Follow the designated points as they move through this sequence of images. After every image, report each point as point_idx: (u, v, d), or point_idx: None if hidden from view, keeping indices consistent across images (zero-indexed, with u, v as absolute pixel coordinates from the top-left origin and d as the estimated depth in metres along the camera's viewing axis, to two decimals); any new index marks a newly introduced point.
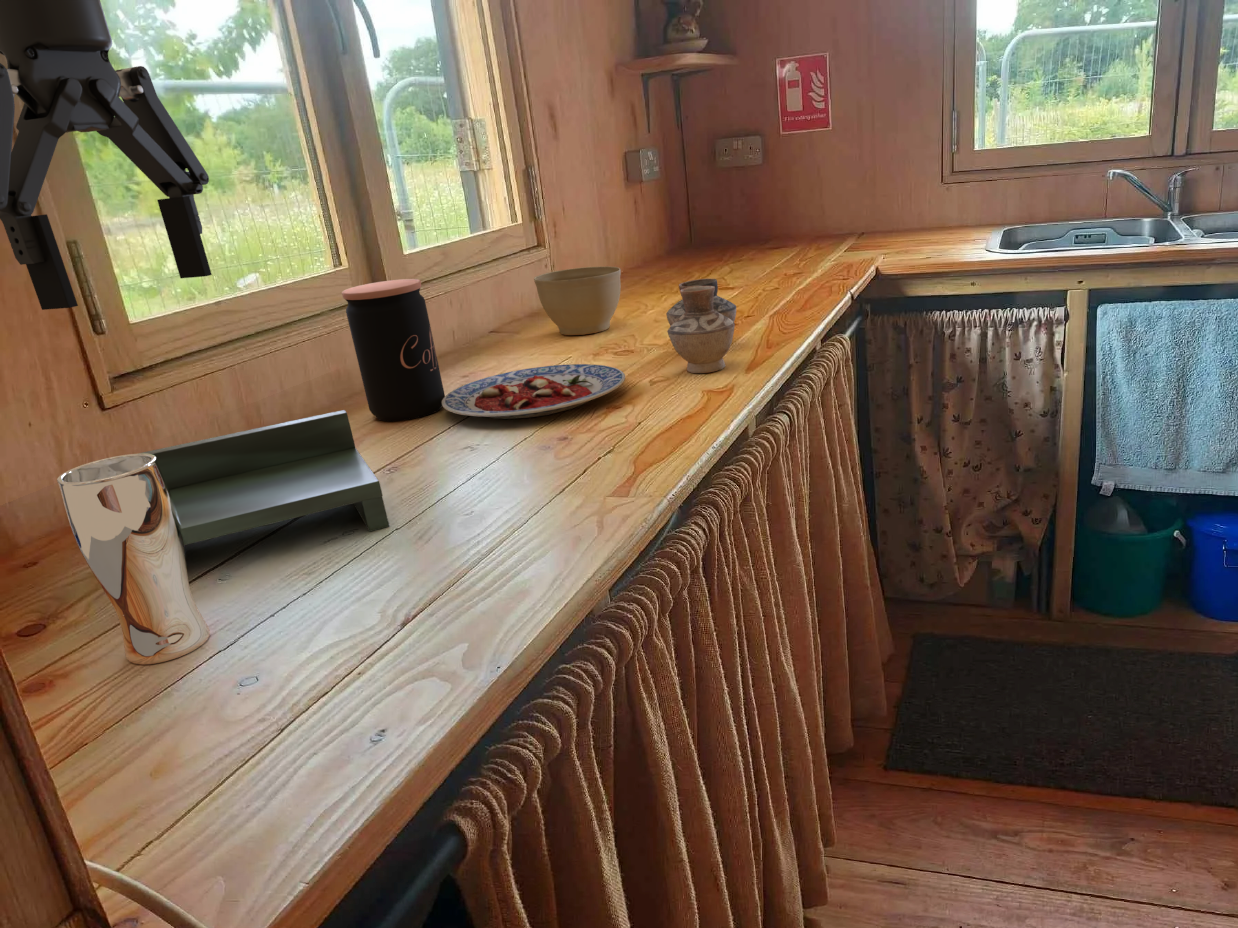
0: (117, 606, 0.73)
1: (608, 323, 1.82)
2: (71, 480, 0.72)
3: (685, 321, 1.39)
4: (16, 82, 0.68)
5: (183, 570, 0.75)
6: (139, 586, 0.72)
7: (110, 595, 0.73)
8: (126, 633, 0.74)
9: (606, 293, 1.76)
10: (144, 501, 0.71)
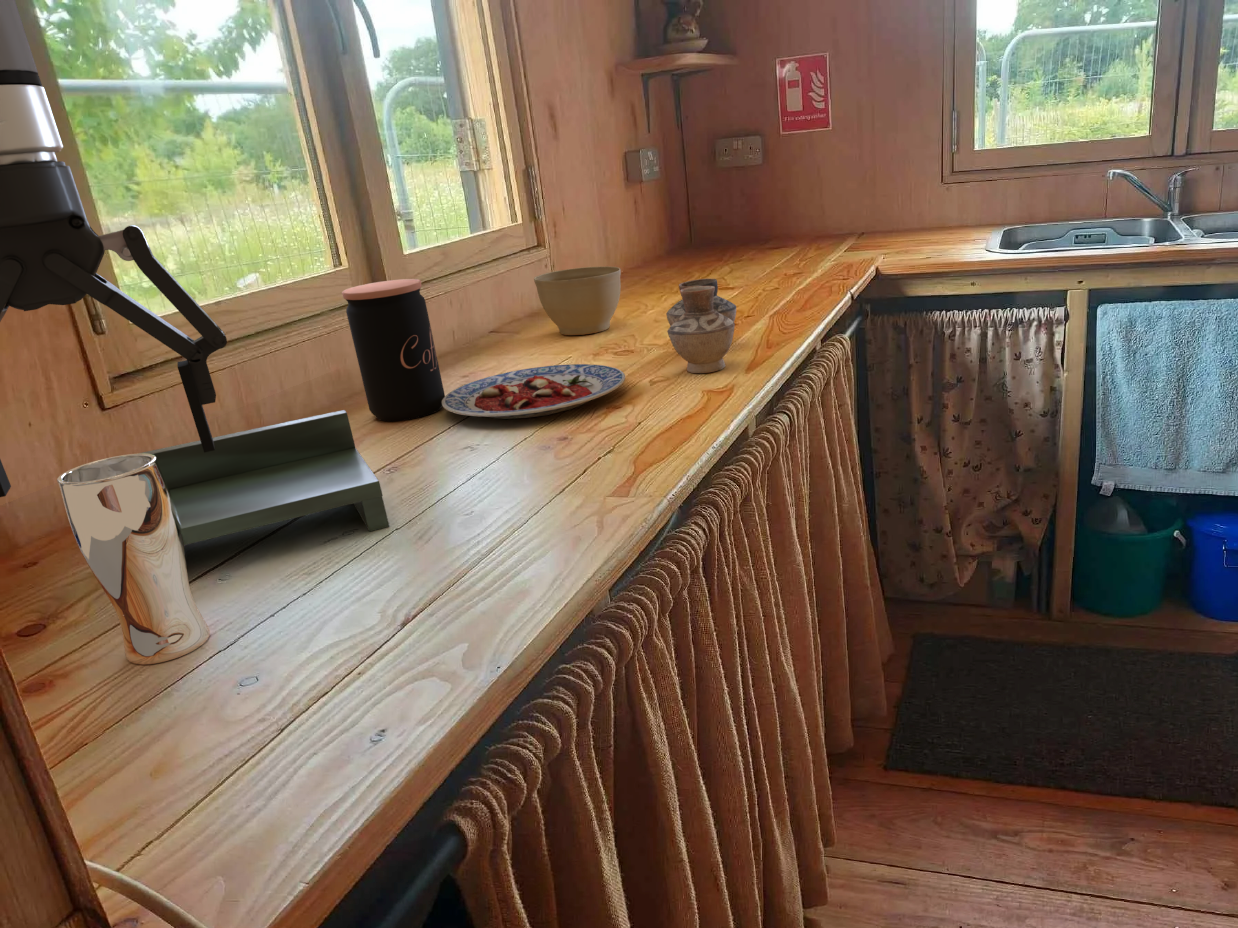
0: (117, 606, 0.73)
1: (608, 323, 1.82)
2: (71, 480, 0.72)
3: (685, 321, 1.39)
4: None
5: (183, 570, 0.75)
6: (139, 586, 0.72)
7: (110, 595, 0.73)
8: (126, 633, 0.74)
9: (606, 293, 1.76)
10: (144, 501, 0.71)
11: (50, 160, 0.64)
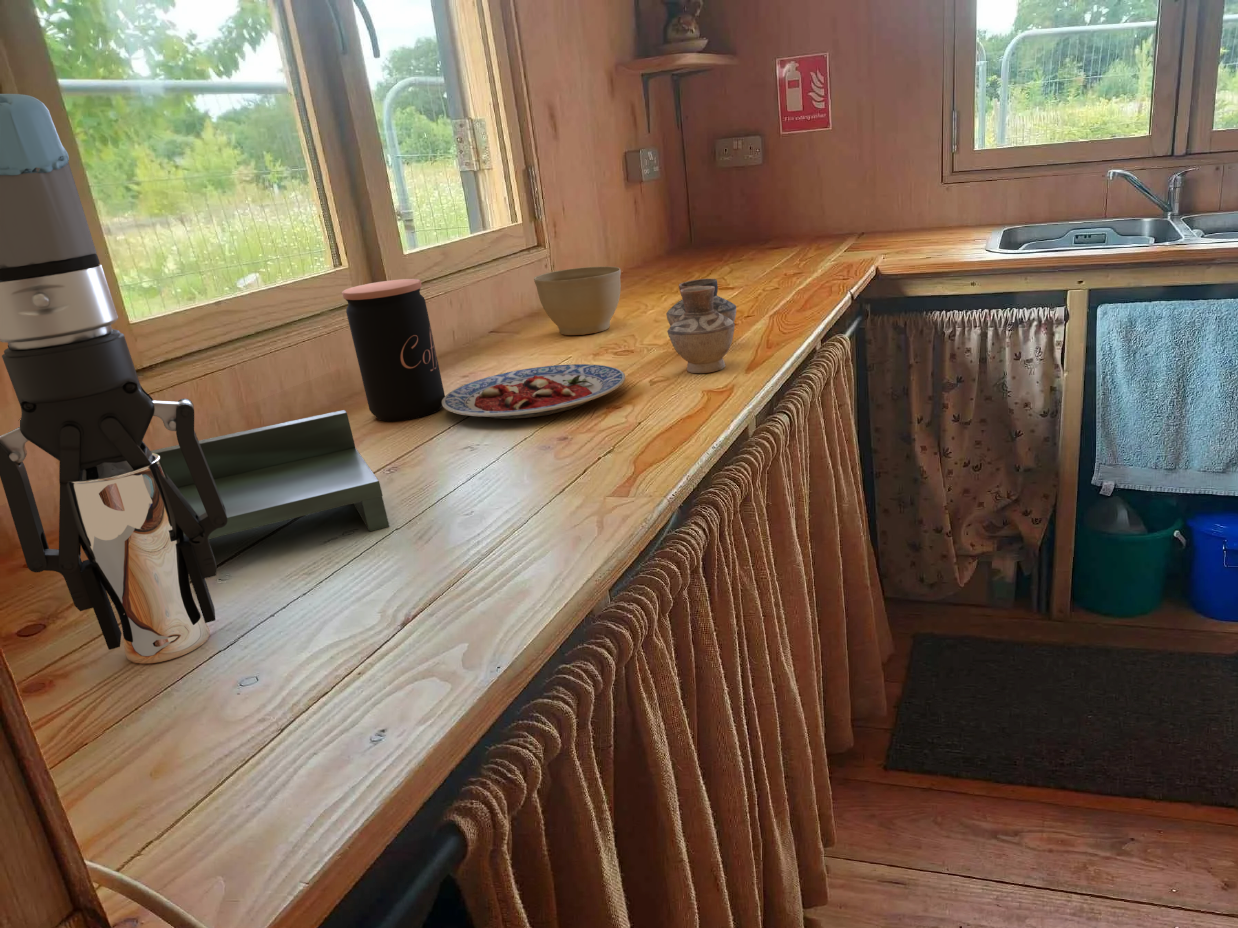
0: (118, 605, 0.73)
1: (608, 323, 1.82)
2: None
3: (685, 321, 1.39)
4: (22, 441, 0.68)
5: (185, 570, 0.75)
6: (140, 585, 0.72)
7: (111, 594, 0.73)
8: (126, 632, 0.74)
9: (606, 293, 1.76)
10: (147, 500, 0.71)
11: (107, 333, 0.68)
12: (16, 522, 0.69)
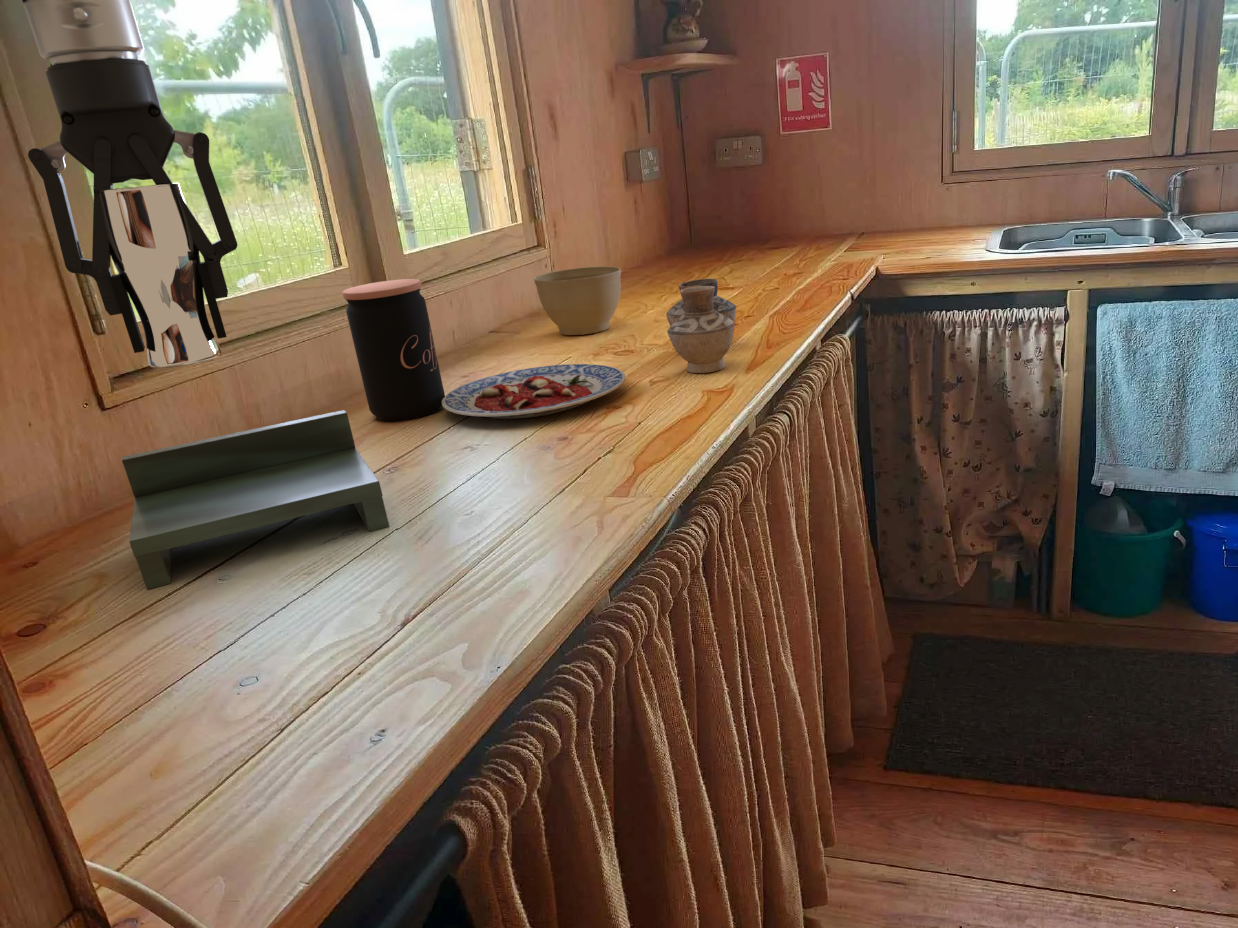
0: (142, 312, 0.84)
1: (608, 323, 1.82)
2: None
3: (685, 321, 1.39)
4: (61, 152, 0.79)
5: (200, 288, 0.86)
6: (162, 291, 0.83)
7: (137, 301, 0.84)
8: (149, 339, 0.85)
9: (606, 293, 1.76)
10: (168, 214, 0.82)
11: (135, 59, 0.79)
12: (56, 224, 0.80)
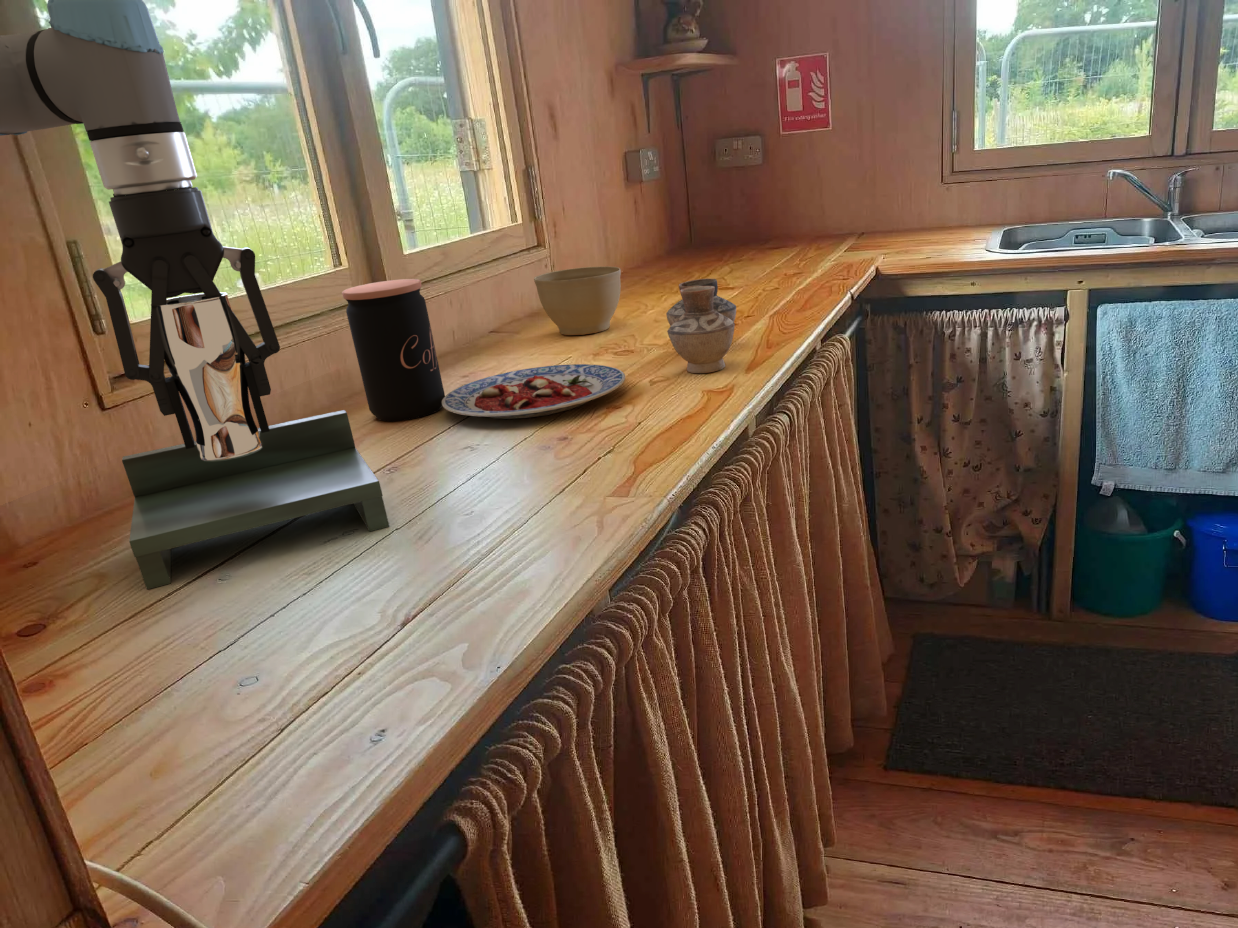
0: (194, 412, 0.91)
1: (608, 323, 1.82)
2: None
3: (685, 321, 1.39)
4: (122, 272, 0.86)
5: (246, 387, 0.93)
6: (212, 394, 0.90)
7: (189, 402, 0.91)
8: (200, 436, 0.93)
9: (606, 293, 1.76)
10: (219, 324, 0.89)
11: (189, 186, 0.86)
12: (117, 337, 0.87)
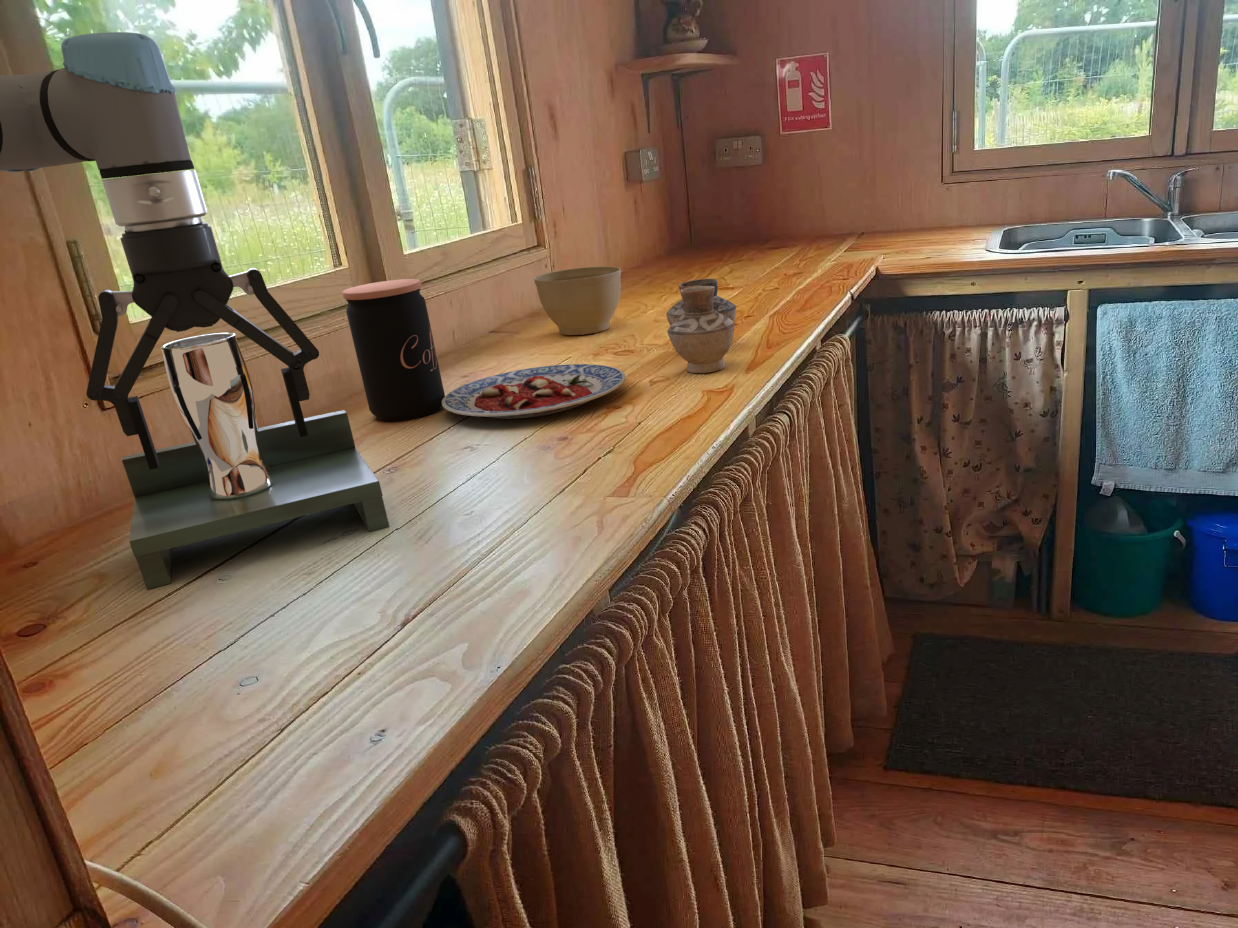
0: (204, 451, 0.93)
1: (608, 323, 1.82)
2: None
3: (685, 321, 1.39)
4: (128, 301, 0.87)
5: (255, 426, 0.95)
6: (222, 434, 0.92)
7: (199, 442, 0.92)
8: (211, 474, 0.94)
9: (606, 293, 1.76)
10: (227, 365, 0.91)
11: (199, 223, 0.87)
12: (95, 356, 0.87)
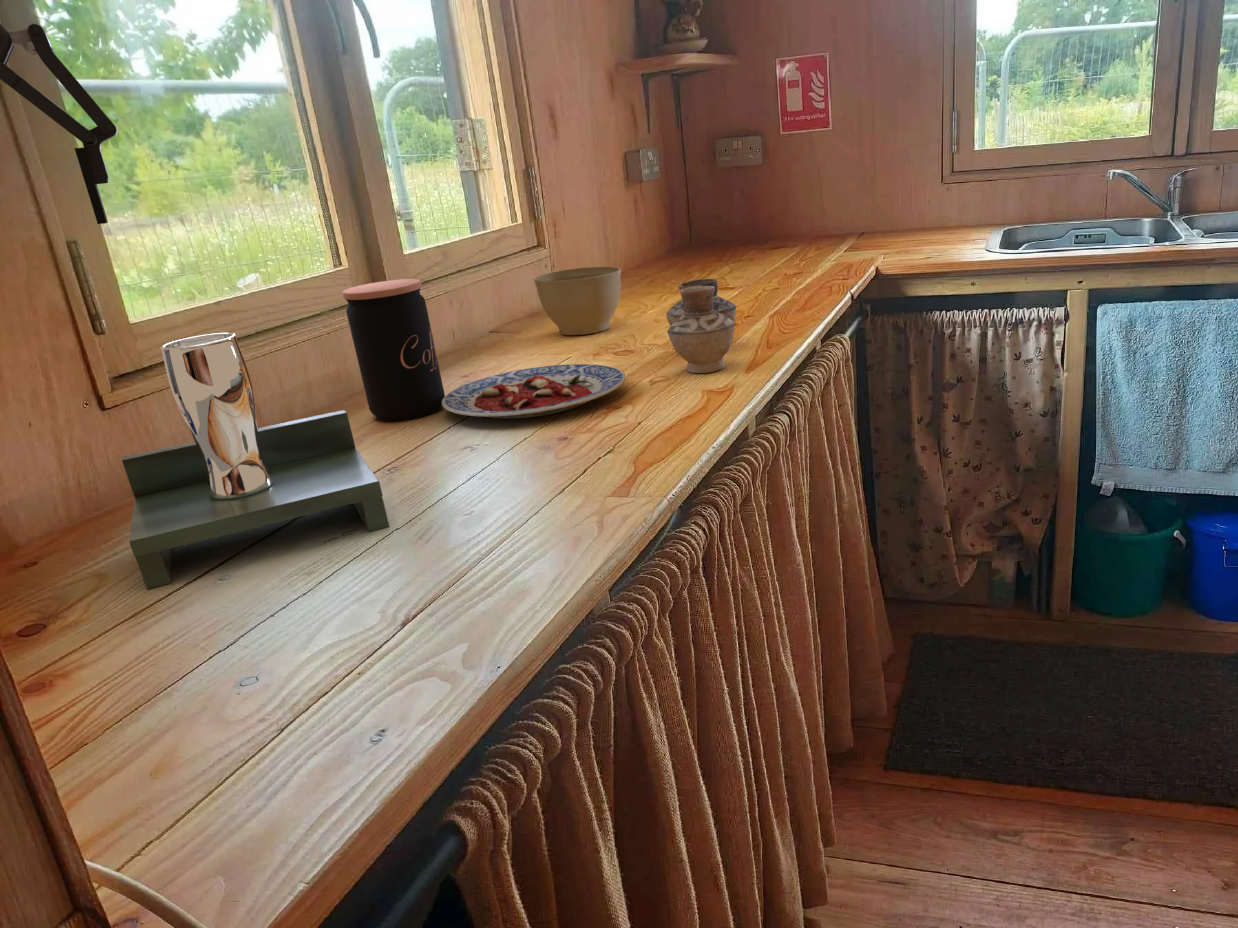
0: (204, 451, 0.93)
1: (608, 323, 1.82)
2: None
3: (685, 321, 1.39)
4: None
5: (255, 426, 0.95)
6: (222, 434, 0.92)
7: (199, 442, 0.92)
8: (211, 474, 0.94)
9: (606, 293, 1.76)
10: (227, 365, 0.91)
11: None
12: None
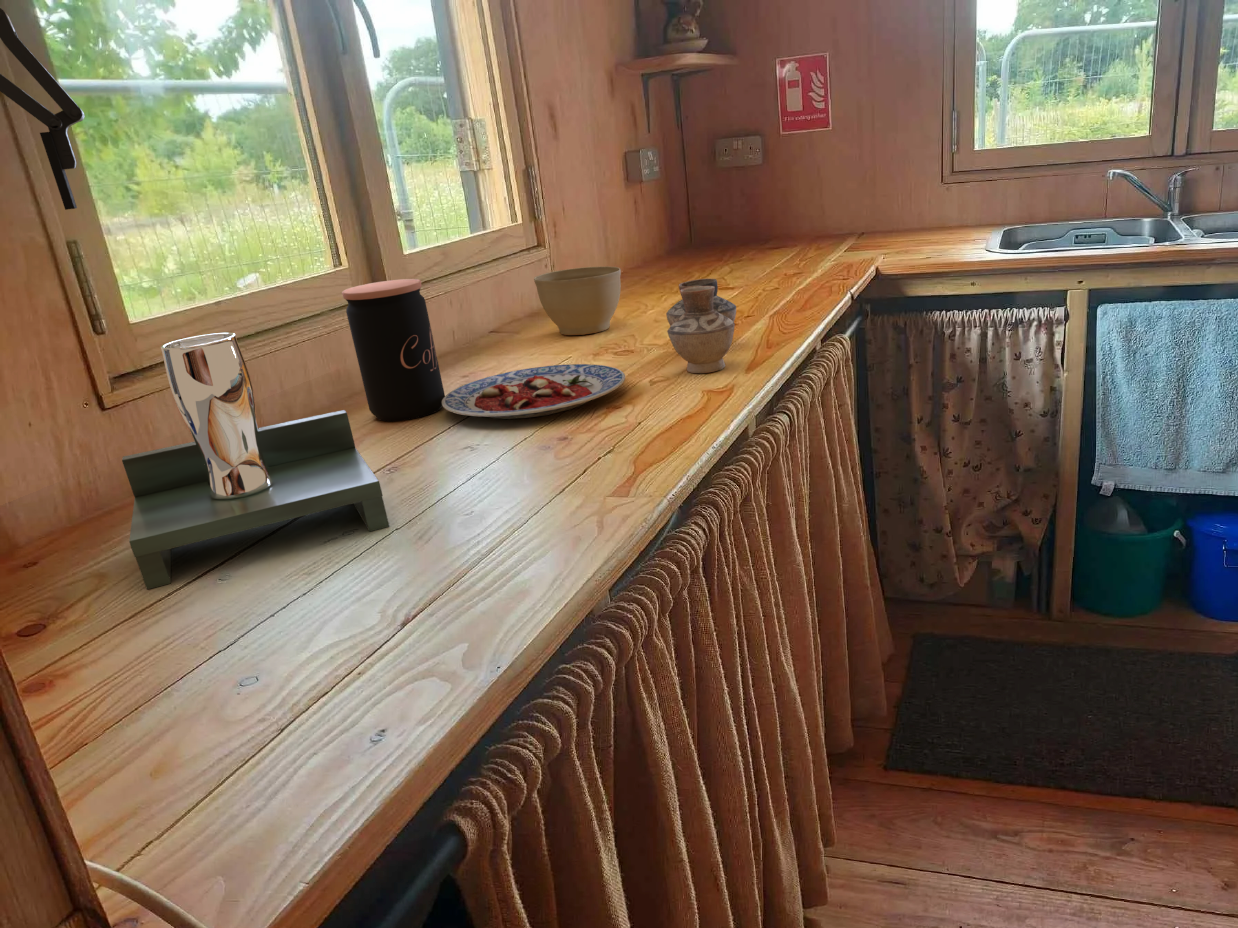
0: (204, 451, 0.93)
1: (608, 323, 1.82)
2: None
3: (685, 321, 1.39)
4: None
5: (255, 426, 0.95)
6: (222, 434, 0.92)
7: (199, 442, 0.92)
8: (211, 474, 0.94)
9: (606, 293, 1.76)
10: (227, 365, 0.91)
11: None
12: None
